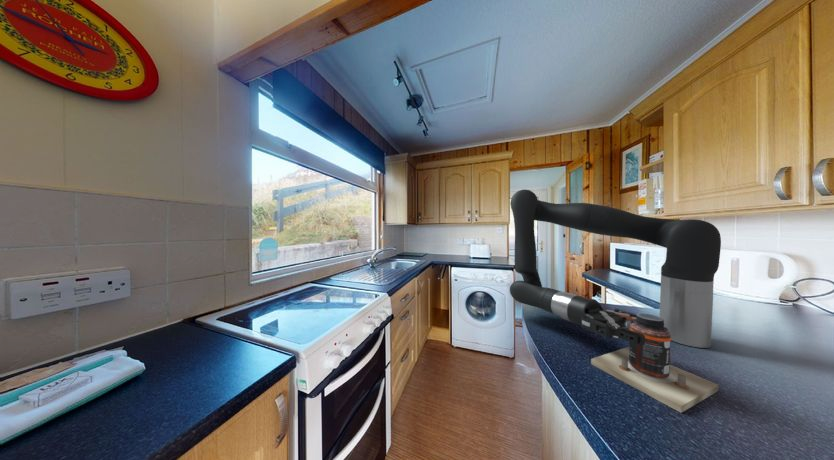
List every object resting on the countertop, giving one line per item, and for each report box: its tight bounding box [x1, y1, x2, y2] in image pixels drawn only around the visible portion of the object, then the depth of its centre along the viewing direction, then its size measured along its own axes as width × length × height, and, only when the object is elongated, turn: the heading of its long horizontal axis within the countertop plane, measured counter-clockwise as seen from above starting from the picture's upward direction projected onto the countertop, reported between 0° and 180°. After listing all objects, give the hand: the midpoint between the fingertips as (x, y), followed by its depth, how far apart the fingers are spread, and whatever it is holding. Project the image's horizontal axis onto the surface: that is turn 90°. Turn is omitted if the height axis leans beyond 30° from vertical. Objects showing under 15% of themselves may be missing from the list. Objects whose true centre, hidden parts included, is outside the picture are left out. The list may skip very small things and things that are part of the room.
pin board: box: [590, 346, 719, 414], centre depth 47 cm, size 14×14×3 cm
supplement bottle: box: [628, 313, 672, 378], centre depth 46 cm, size 6×6×11 cm
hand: (655, 337), depth 46 cm, fingers open, 8 cm apart
